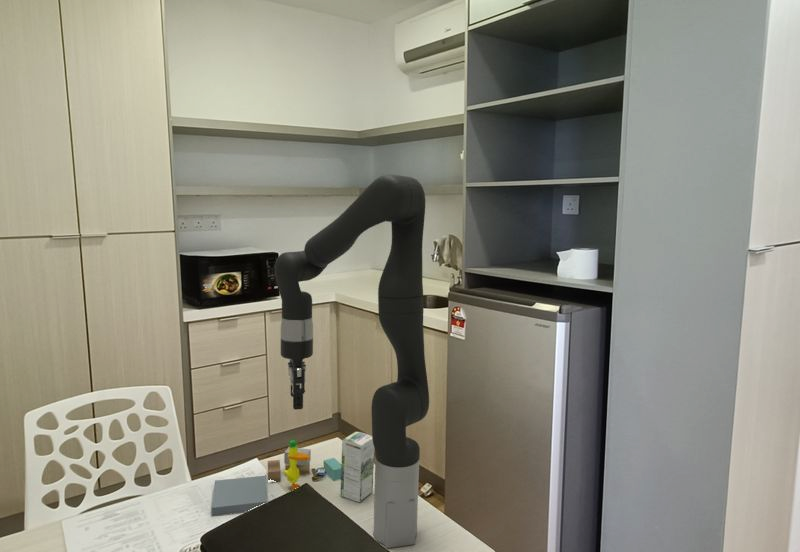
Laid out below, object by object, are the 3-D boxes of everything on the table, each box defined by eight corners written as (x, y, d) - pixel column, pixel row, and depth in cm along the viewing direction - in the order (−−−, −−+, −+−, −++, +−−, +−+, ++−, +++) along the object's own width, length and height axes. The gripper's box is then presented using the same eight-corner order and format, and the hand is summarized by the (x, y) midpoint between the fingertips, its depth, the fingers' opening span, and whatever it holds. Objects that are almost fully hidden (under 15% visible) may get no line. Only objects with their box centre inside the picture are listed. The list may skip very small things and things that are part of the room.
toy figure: (311, 486, 133) (311, 439, 131) (306, 493, 129) (307, 446, 128) (285, 482, 134) (285, 437, 132) (280, 490, 130) (280, 443, 129)
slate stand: (267, 509, 122) (267, 501, 122) (211, 516, 119) (211, 507, 118) (266, 482, 133) (266, 475, 133) (215, 488, 130) (214, 480, 130)
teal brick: (344, 478, 137) (344, 467, 137) (333, 481, 136) (333, 470, 135) (333, 468, 142) (334, 457, 142) (323, 471, 141) (323, 460, 140)
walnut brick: (280, 482, 134) (280, 471, 134) (267, 483, 134) (267, 472, 133) (279, 470, 140) (279, 459, 140) (267, 471, 139) (267, 460, 139)
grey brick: (310, 460, 140) (310, 449, 140) (306, 465, 137) (307, 454, 137) (288, 458, 141) (288, 447, 140) (284, 463, 138) (284, 452, 137)
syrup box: (353, 485, 133) (354, 430, 131) (373, 492, 130) (375, 436, 128) (339, 496, 128) (340, 438, 126) (360, 503, 125) (361, 444, 124)
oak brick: (308, 468, 142) (308, 457, 141) (309, 474, 139) (309, 463, 138) (285, 470, 140) (285, 460, 140) (285, 476, 137) (285, 465, 137)
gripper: (316, 343, 121) (315, 412, 123) (309, 328, 134) (309, 391, 136) (282, 344, 119) (282, 414, 121) (279, 329, 132) (279, 393, 134)
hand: (296, 402), depth 128 cm, fingers open, 8 cm apart
